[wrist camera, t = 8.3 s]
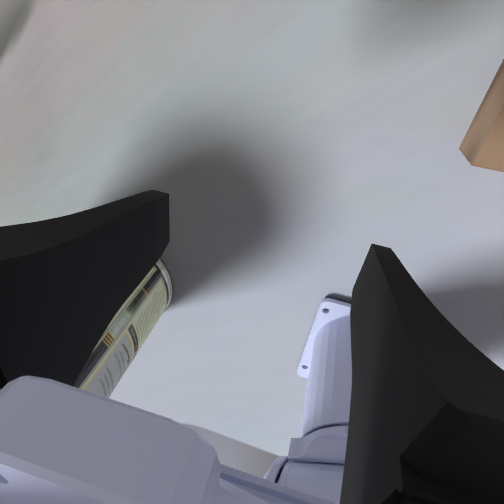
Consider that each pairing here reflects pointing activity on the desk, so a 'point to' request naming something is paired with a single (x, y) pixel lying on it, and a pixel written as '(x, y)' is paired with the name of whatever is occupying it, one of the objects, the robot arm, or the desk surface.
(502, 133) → the walnut slab
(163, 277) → the coffee can
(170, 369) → the desk surface
